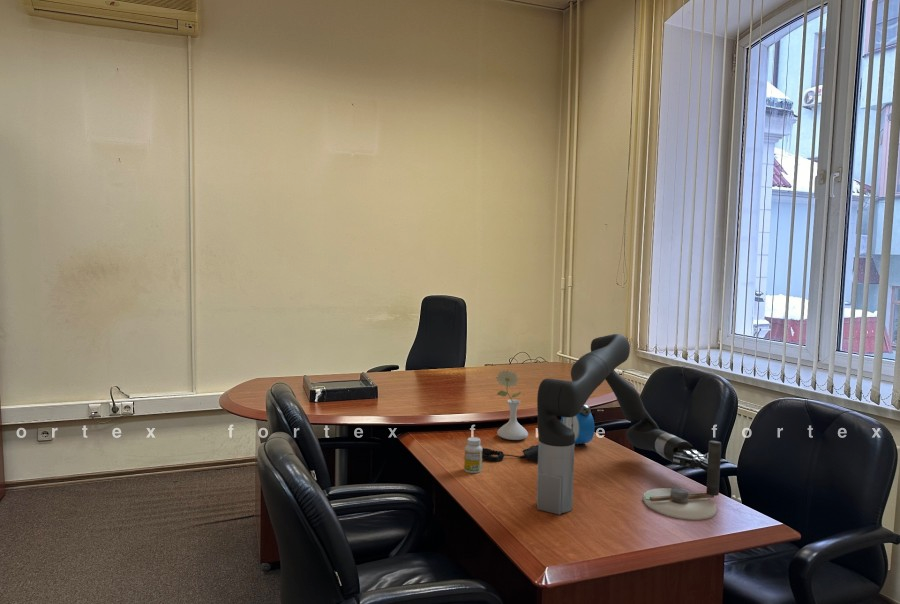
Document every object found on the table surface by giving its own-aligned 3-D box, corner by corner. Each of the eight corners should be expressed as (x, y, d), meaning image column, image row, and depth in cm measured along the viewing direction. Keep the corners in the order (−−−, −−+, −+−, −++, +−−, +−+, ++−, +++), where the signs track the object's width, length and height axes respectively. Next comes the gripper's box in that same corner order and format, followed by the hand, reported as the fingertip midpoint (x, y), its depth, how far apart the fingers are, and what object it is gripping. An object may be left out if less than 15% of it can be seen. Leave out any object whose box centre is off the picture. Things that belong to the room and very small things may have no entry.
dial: (655, 505, 144) (657, 447, 144) (646, 498, 149) (648, 442, 148) (722, 500, 149) (725, 444, 148) (711, 494, 153) (714, 439, 152)
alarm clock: (560, 438, 206) (561, 398, 205) (574, 437, 208) (575, 397, 207) (579, 449, 194) (581, 406, 193) (594, 448, 196) (596, 405, 195)
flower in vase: (533, 437, 207) (535, 370, 206) (520, 444, 198) (522, 374, 196) (501, 431, 214) (503, 366, 213) (487, 438, 204) (489, 370, 203)
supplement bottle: (471, 466, 175) (472, 435, 174) (485, 470, 171) (486, 439, 171) (460, 470, 170) (461, 439, 170) (474, 474, 167) (475, 442, 167)
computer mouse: (570, 464, 180) (571, 447, 179) (471, 463, 178) (471, 446, 178) (563, 454, 189) (564, 438, 189) (468, 453, 188) (469, 437, 187)
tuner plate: (713, 526, 136) (713, 520, 136) (637, 509, 145) (637, 504, 145) (718, 500, 152) (719, 496, 152) (649, 486, 161) (649, 482, 161)
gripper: (654, 437, 167) (692, 457, 150) (693, 435, 170) (734, 454, 153) (653, 462, 167) (691, 484, 150) (692, 459, 170) (733, 481, 153)
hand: (713, 469), depth 152 cm, fingers closed
